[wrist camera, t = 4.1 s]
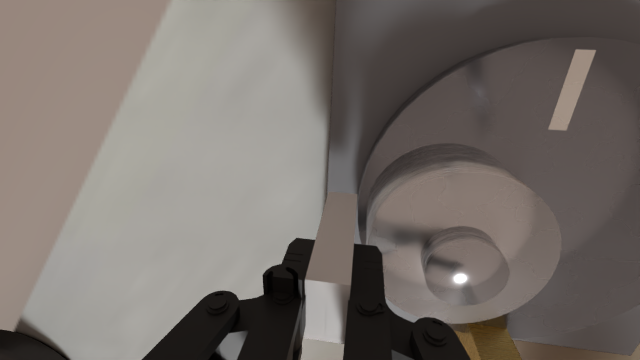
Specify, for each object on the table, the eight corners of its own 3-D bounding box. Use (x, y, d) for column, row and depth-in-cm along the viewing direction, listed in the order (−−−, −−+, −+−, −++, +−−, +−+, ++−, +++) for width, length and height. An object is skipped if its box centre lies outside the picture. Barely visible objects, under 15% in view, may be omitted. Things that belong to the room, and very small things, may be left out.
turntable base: (324, 298, 25) (321, 316, 24) (339, -10, 16) (336, -16, 15) (615, 337, 23) (634, 359, 21) (823, -3, 14) (884, -9, 12)
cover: (360, 261, 19) (358, 331, 14) (373, 137, 16) (377, 176, 11) (495, 276, 18) (539, 357, 13) (538, 149, 15) (617, 197, 10)
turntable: (344, 346, 25) (337, 435, 19) (373, 31, 15) (377, 24, 10) (585, 382, 23) (658, 493, 17) (792, 44, 13) (1107, 43, 8)
